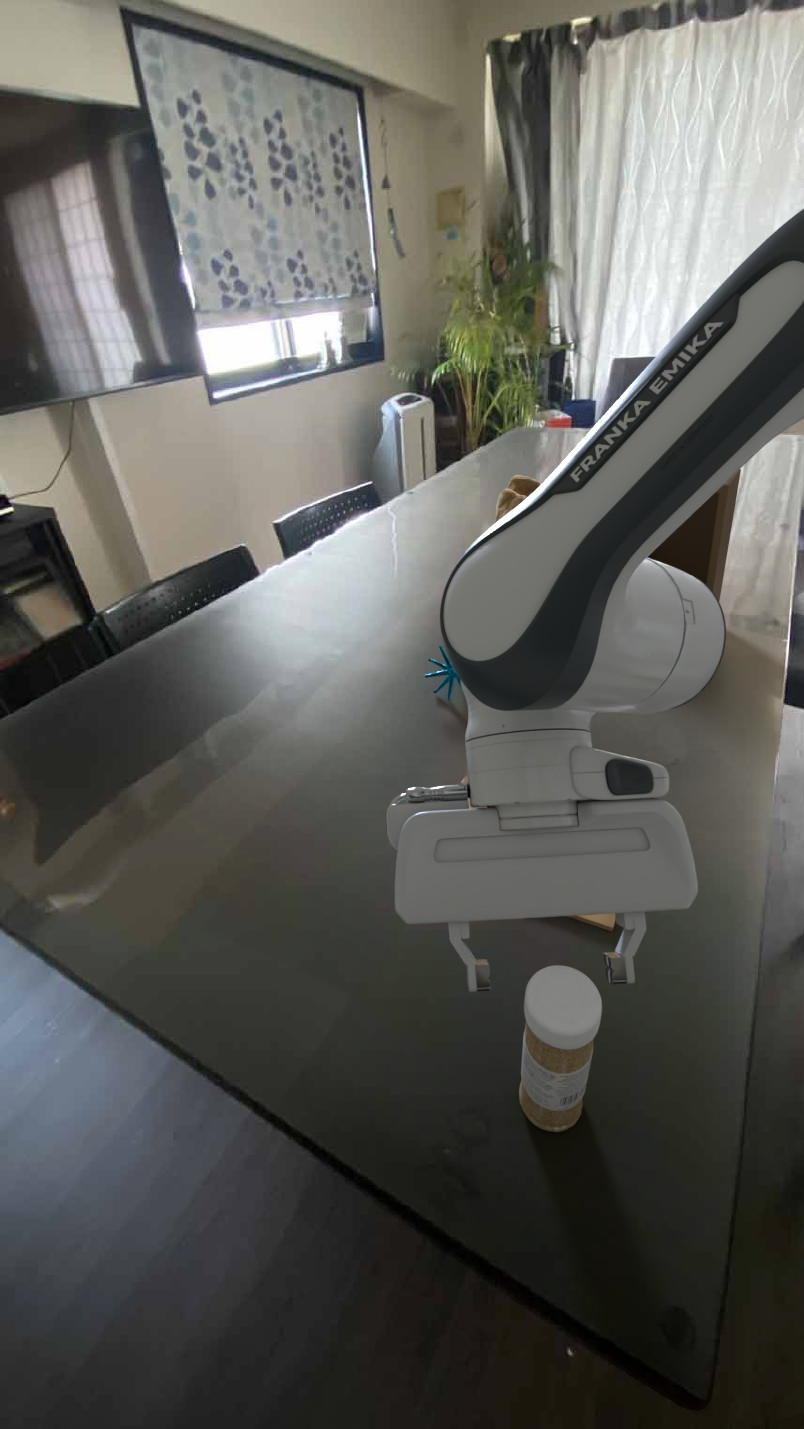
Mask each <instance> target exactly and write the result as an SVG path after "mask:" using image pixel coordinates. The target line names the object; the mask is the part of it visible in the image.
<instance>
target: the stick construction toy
mask: <svg viewBox="0 0 804 1429" xmlns="http://www.w3.org/2000/svg"><path fill="white" fill-rule="evenodd" d="M438 649H439V652H440V654H441V656H442V658H443V660H444V663H445V664H444V663H442V662H440V661H437V660H435V659H432V658H428V659H427V661H428V662H430V663H432V664H434V665H435V666H437V667H439V668H441V669H442V670H441V671H437V672H433V673H429V674H428V673H427V674H425V675H424V676H423V678H425V679H430V678H438V677H445V679H444V680H443V681H442V682H441V683H440V684H439V685H438V687H436V689H435V690H433V694H438V693H439V692H440V691H441V690H442V689H443V688H444V687H445V686H446V685H447V684H448V686H447V697H446V701H448V702H451V701H452V699H451V698H452V693H453V687H454V683H455V681H456V683H457V684H458V686H459V688H460V689H461V691H462V692H463V690H462V687H461V681H460V678H459V677H458V675H457V673H456V672H455V670H454V668H453V666H452V664H451V662H450V660H449V658H448V655H447V653H446V650H445V649H444V647H443V646H442V645H438Z"/></svg>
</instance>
